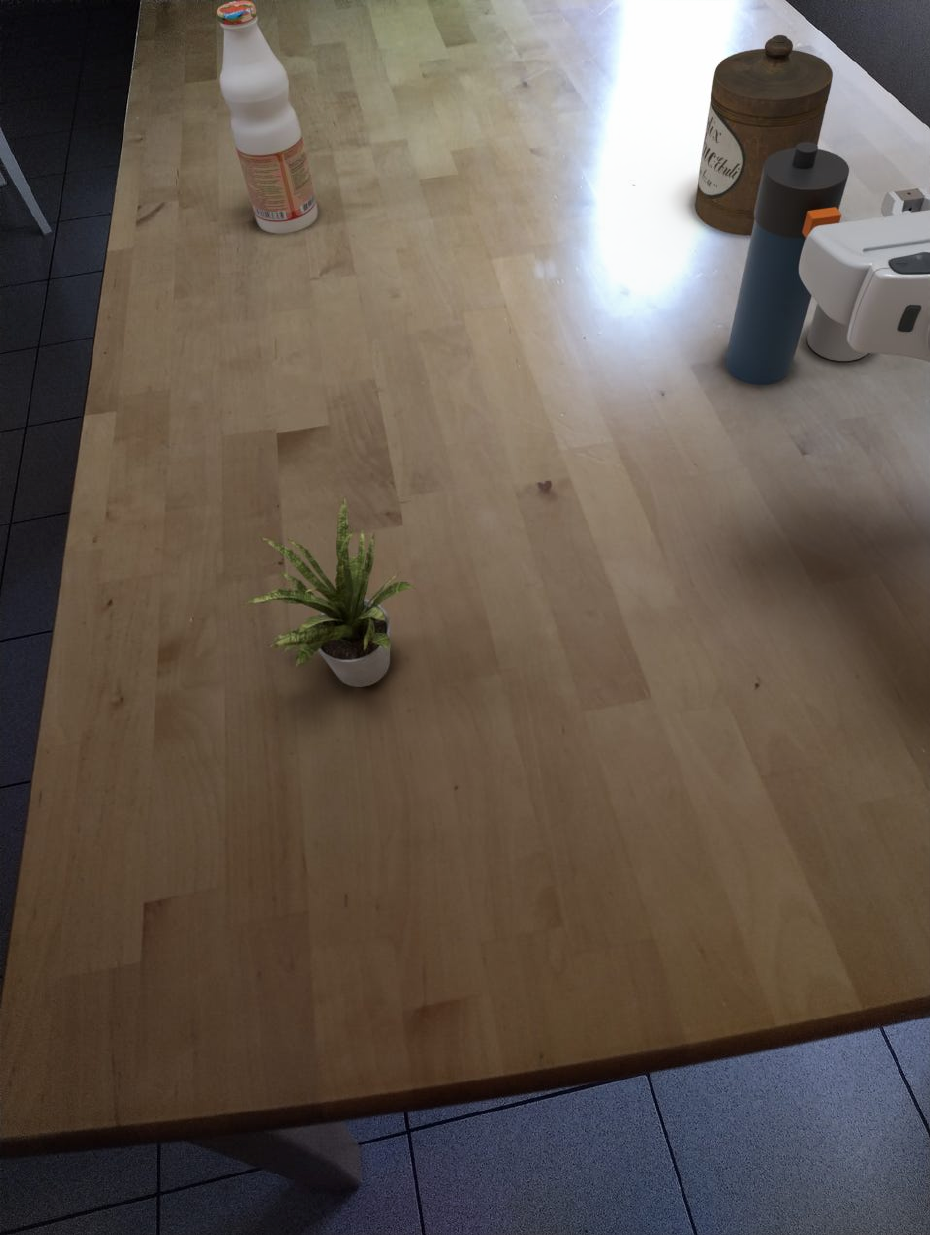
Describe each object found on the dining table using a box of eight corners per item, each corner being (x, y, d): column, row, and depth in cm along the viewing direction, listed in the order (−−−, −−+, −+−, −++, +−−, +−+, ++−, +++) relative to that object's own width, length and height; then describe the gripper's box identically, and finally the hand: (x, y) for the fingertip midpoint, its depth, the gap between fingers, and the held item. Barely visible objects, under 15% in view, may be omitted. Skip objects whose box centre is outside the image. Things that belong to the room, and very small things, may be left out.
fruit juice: (265, 244, 128) (205, 29, 105) (252, 213, 133) (192, 2, 111) (326, 227, 129) (280, 12, 107) (310, 198, 135) (263, -13, 112)
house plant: (289, 604, 88) (245, 491, 75) (425, 590, 88) (404, 475, 75) (282, 728, 80) (230, 625, 66) (431, 713, 79) (409, 607, 66)
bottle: (801, 384, 102) (867, 165, 81) (734, 394, 102) (783, 177, 81) (778, 343, 106) (835, 126, 86) (714, 352, 106) (755, 136, 86)
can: (792, 347, 106) (817, 257, 96) (830, 320, 108) (858, 229, 98) (844, 375, 102) (876, 284, 92) (883, 347, 104) (917, 255, 95)
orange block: (835, 236, 84) (841, 214, 82) (806, 240, 84) (812, 218, 82) (829, 228, 84) (836, 206, 83) (801, 232, 84) (807, 210, 83)
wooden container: (688, 186, 129) (711, 17, 111) (790, 181, 128) (831, 9, 110) (700, 242, 120) (727, 68, 102) (810, 237, 119) (857, 60, 101)
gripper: (1150, 236, 59) (1045, 140, 67) (856, 277, 59) (786, 176, 67) (1102, 316, 64) (1009, 218, 72) (831, 354, 64) (769, 251, 72)
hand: (900, 198), depth 70 cm, fingers closed
